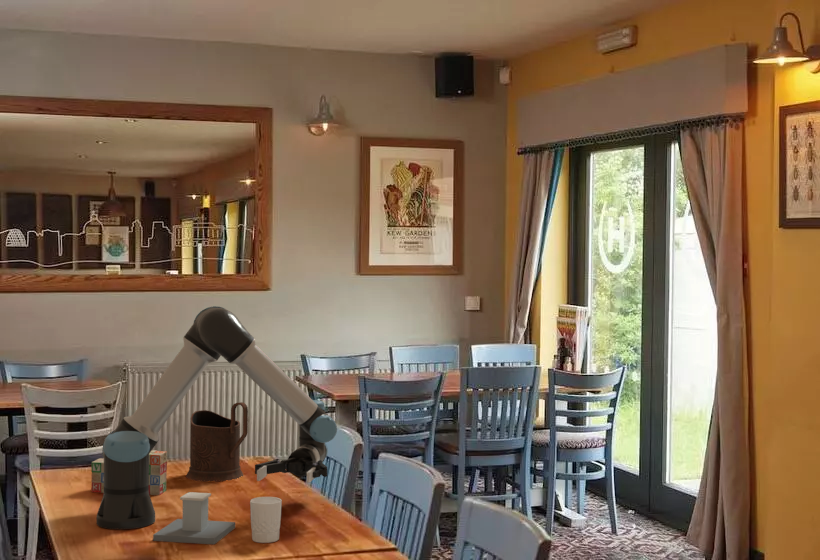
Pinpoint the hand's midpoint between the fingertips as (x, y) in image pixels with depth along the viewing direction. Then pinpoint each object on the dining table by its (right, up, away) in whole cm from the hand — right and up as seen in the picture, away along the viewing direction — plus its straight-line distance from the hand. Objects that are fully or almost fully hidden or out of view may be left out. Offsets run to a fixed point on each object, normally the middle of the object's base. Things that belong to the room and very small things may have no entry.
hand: (283, 476), depth 272 cm
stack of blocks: (-51, -12, +38) cm, 65 cm away
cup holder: (-28, -12, +61) cm, 68 cm away
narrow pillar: (-22, -13, -8) cm, 26 cm away
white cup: (-3, -14, -12) cm, 18 cm away
